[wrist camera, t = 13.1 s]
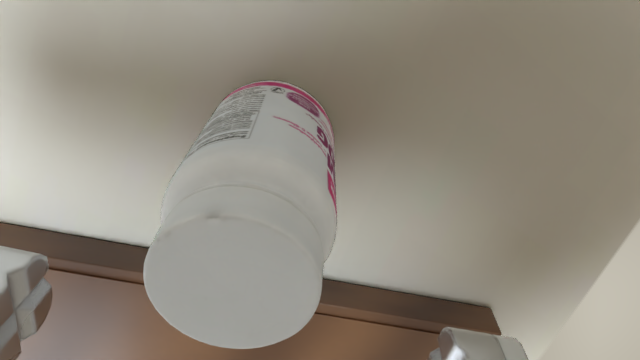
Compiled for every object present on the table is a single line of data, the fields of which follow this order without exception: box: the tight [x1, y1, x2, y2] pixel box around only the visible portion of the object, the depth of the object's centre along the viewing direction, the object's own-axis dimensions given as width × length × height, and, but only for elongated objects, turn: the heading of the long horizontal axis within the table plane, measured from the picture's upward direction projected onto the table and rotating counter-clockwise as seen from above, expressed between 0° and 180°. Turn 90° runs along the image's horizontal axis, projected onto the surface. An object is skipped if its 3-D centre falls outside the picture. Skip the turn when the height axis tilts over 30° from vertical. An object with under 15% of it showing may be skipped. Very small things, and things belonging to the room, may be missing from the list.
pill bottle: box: [143, 80, 337, 349], centre depth 13 cm, size 5×5×8 cm
